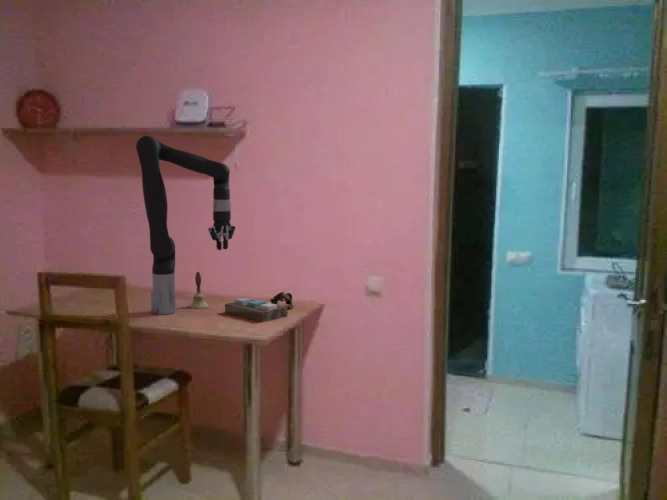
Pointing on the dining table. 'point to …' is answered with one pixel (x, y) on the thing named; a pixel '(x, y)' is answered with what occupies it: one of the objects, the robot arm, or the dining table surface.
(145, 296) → the dining table surface
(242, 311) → the console
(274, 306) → the cream key
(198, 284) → the hand bell
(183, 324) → the dining table surface
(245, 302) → the grey key
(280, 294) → the pottery mug
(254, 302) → the teal key
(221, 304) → the dining table surface
